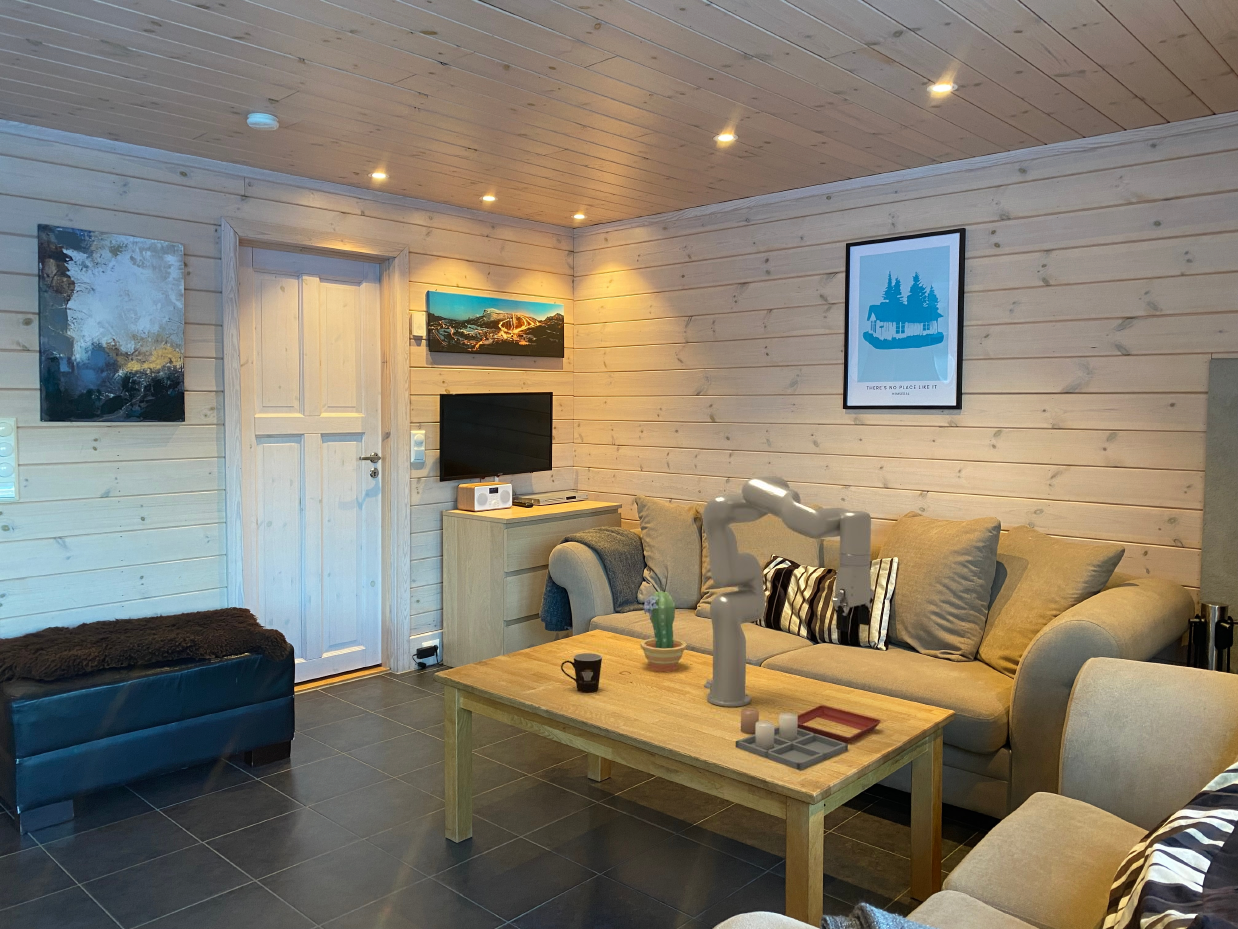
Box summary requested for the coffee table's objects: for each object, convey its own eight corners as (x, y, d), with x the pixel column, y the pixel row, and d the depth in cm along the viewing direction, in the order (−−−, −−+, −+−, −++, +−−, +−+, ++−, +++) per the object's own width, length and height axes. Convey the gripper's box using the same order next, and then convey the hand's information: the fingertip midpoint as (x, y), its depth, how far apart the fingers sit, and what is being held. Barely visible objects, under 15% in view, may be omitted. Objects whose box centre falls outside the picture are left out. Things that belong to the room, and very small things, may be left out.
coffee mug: (606, 687, 277) (606, 655, 276) (594, 695, 269) (594, 662, 268) (572, 682, 282) (572, 650, 281) (559, 690, 274) (559, 657, 273)
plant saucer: (882, 731, 241) (882, 719, 241) (849, 750, 228) (849, 736, 228) (821, 716, 253) (821, 704, 253) (786, 732, 240) (786, 720, 240)
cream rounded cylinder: (775, 738, 232) (775, 715, 231) (786, 734, 235) (786, 711, 235) (789, 743, 228) (790, 720, 228) (800, 739, 231) (801, 716, 231)
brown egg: (736, 733, 238) (737, 711, 237) (748, 729, 241) (748, 707, 240) (750, 738, 234) (751, 715, 234) (762, 734, 237) (762, 711, 237)
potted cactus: (640, 661, 307) (640, 587, 306) (686, 661, 307) (687, 588, 305) (639, 673, 292) (640, 596, 291) (687, 674, 291) (688, 597, 290)
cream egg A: (751, 747, 226) (751, 723, 225) (763, 743, 229) (763, 719, 228) (766, 752, 222) (766, 728, 222) (777, 748, 225) (778, 724, 225)
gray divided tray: (735, 750, 226) (735, 741, 226) (784, 732, 239) (784, 723, 239) (799, 773, 211) (799, 763, 211) (847, 753, 224) (847, 744, 224)
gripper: (860, 555, 239) (859, 620, 239) (822, 562, 227) (820, 630, 228) (886, 558, 233) (884, 625, 234) (848, 565, 221) (846, 635, 222)
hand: (853, 627), depth 231 cm, fingers open, 9 cm apart
